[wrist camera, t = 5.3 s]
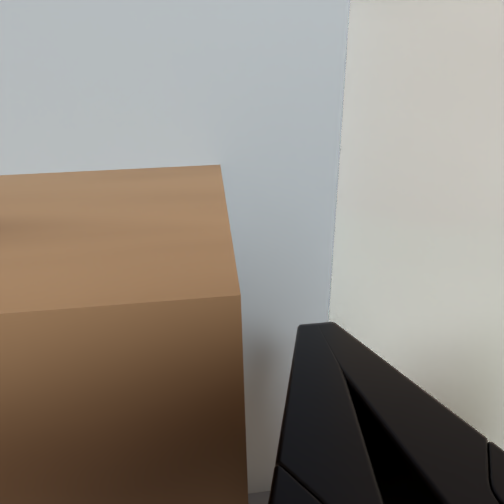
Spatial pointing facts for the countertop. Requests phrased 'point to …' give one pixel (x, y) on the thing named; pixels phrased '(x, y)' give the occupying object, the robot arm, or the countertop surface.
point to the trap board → (200, 141)
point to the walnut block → (120, 339)
